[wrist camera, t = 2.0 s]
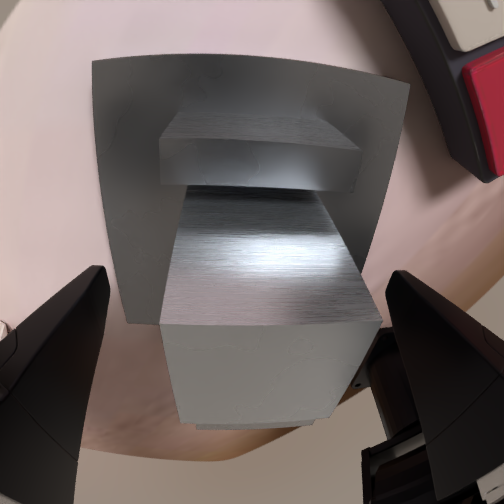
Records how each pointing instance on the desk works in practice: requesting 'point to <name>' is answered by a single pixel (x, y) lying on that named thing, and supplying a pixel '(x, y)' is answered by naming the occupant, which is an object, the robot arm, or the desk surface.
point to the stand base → (234, 148)
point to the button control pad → (460, 73)
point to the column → (261, 309)
